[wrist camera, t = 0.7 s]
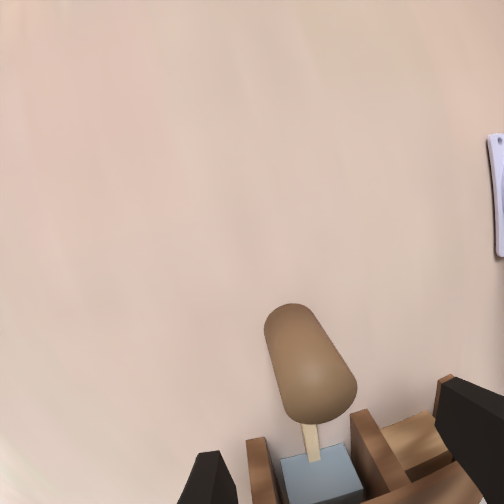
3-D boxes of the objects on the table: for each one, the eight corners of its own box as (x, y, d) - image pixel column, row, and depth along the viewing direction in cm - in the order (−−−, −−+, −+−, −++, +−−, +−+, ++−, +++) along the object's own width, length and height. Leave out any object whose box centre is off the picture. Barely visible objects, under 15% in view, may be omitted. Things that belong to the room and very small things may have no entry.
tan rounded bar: (328, 293, 16) (377, 349, 10) (344, 475, 20) (367, 532, 14) (242, 314, 16) (252, 383, 10) (288, 490, 20) (302, 550, 14)
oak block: (426, 409, 19) (456, 445, 15) (420, 445, 20) (444, 479, 16) (373, 430, 19) (398, 473, 15) (372, 465, 20) (391, 504, 16)
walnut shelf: (451, 373, 19) (514, 435, 11) (434, 455, 21) (473, 512, 13) (245, 440, 18) (257, 540, 11) (271, 510, 20) (285, 583, 13)
